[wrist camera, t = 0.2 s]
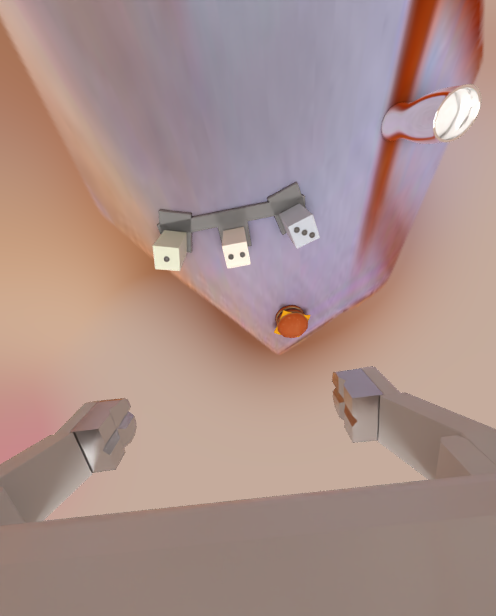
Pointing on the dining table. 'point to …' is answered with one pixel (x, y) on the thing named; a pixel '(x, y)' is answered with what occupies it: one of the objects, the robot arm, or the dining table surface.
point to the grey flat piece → (232, 215)
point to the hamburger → (291, 321)
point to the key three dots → (299, 225)
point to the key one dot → (170, 250)
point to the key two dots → (235, 247)
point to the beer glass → (434, 116)
